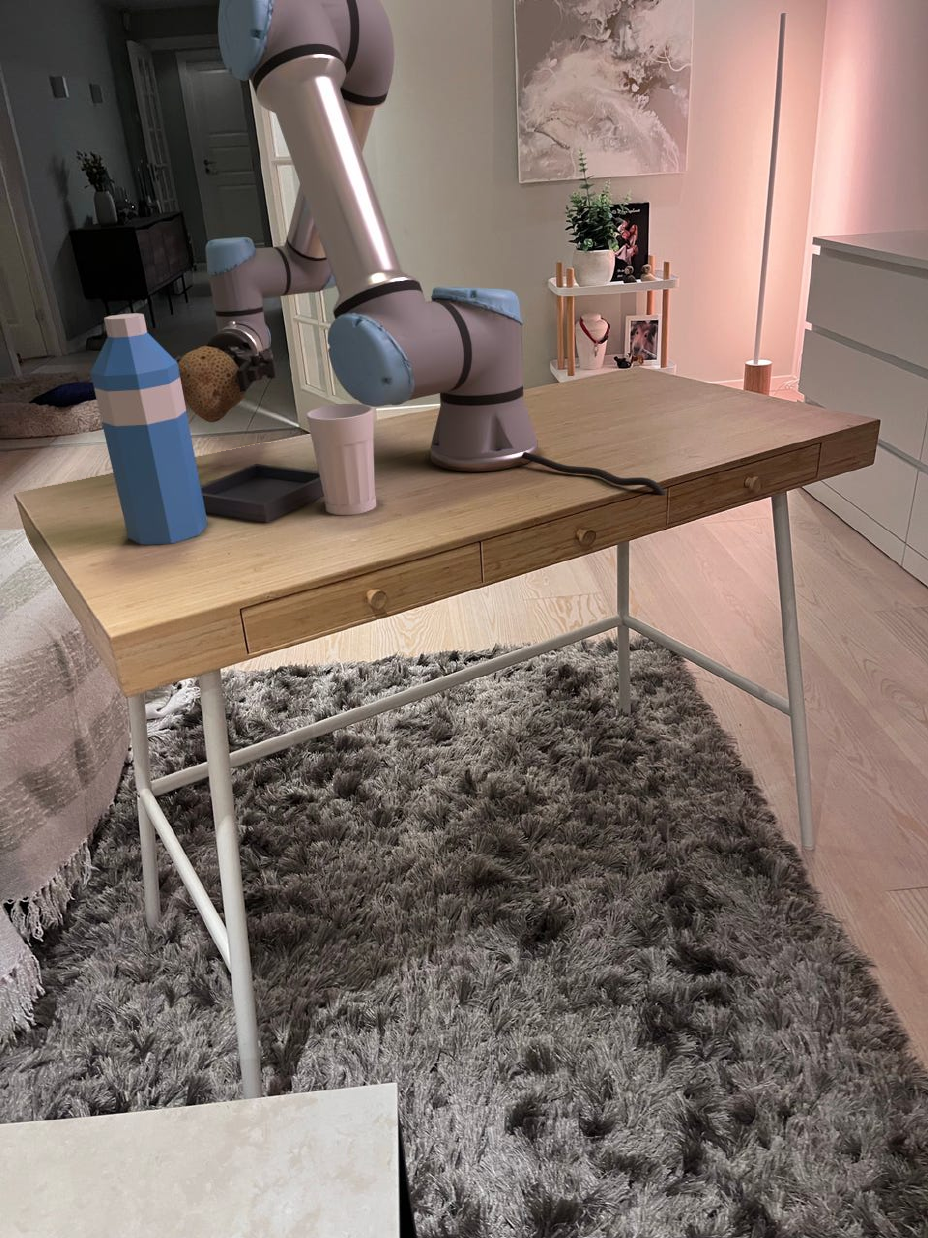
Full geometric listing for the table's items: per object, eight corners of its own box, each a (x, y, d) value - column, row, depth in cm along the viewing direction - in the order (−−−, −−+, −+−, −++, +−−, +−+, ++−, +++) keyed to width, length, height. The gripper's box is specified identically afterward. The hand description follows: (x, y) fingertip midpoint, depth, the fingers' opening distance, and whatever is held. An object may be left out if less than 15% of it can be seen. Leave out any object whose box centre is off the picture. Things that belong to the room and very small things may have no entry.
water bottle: (126, 526, 116) (78, 315, 105) (203, 513, 119) (164, 307, 108) (130, 550, 108) (78, 325, 97) (212, 536, 111) (171, 316, 100)
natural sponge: (241, 409, 134) (230, 338, 130) (259, 421, 127) (248, 346, 123) (177, 420, 131) (163, 346, 126) (192, 433, 124) (178, 355, 119)
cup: (378, 493, 122) (369, 400, 117) (387, 512, 115) (377, 414, 109) (317, 501, 120) (304, 407, 115) (321, 520, 113) (308, 422, 108)
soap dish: (335, 490, 124) (333, 473, 123) (266, 522, 114) (263, 504, 113) (258, 479, 131) (256, 463, 130) (187, 509, 120) (183, 492, 119)
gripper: (156, 332, 141) (112, 360, 120) (302, 322, 141) (283, 348, 121) (166, 383, 144) (125, 418, 124) (308, 373, 144) (291, 406, 124)
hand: (203, 383), depth 122 cm, fingers closed on natural sponge, 9 cm apart
